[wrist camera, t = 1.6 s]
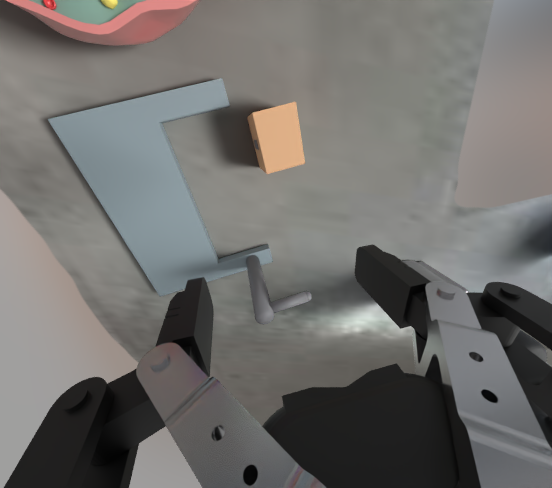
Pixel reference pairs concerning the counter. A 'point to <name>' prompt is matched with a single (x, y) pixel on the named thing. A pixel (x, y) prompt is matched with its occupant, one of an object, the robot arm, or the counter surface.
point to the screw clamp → (159, 191)
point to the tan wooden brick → (277, 137)
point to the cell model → (110, 18)
